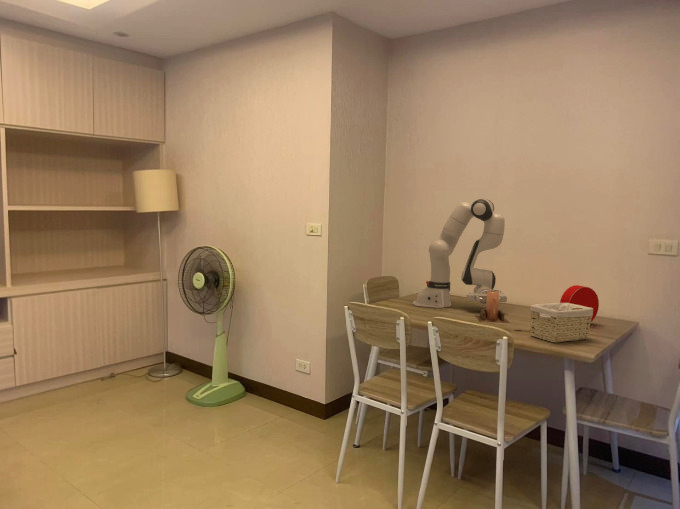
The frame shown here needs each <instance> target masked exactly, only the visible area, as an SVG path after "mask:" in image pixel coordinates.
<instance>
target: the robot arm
mask: <svg viewBox="0 0 680 509" xmlns="http://www.w3.org/2000/svg"><path fill="white" fill-rule="evenodd" d="M473 218H476V219H477V220H481V221H482V222H483V223H484V224H483V225H484V226H483V232H482V235H481V237H480V238H479V239H477V240H476V241H475V242H474V243H473V246H472V248H471V251H470V253H469V256H468V258H467V261H466V263H465V266H464V268H463V271H461V276H460V277H461V281H462V282H463V284H465V285H466V286H474V288H473V292H468V294H466V295H465V296H466V297H467V299H468V301H469V302H479V303H480V304H484V305H486V304H487V291H496V292H499V303H507V300H508V296H507V294H505V293H504V292H502V290H498V289H495V286H496V281H497V280H496V278H497V277H496V274H495V273H494V272H493V270H488V269H483V268H475V267H474V266H475V264H476V261H477V258H478V257H479V254H480V253H482V252H484V251H488V250H489V251H490V250H492V249H493V250H494V249H496V248H498V247H499V246H500V245H501V244H502V242H503V238H504V233H505V217H504V216H503V215H502V214H500V213H496V212H495V206H494V203H493V201H491V200H489V199H487V198H478V199H476V200H475V201H473V202H472V203H469V202H466V201H461V202H460V203H458V204H457V206H455V208H454V209H453V211H452V212H451V213H450V216H449V217H448V218H447V220H446V222H445V223H444V225H443V227H442V231H441V233H440V235H439V238H438V239H435V240H434V241H431V243H430V245H429V246H428V253H429V260H430V280H426V281H425V283H426V287H425V288H424V289H422V290H421V291H419V292H418V293H417V296H416V299H415V300H413V301H412V305H414V306H416V307H424V308H425V307H426V308H437V309H439V308H440V309H443V308H449V307H451V306H452V303H451V295H450V291H451V281H450V280H451V267H450V258H449V256H451V255H452V254H453V252H454V250H455V248H456V246H457V244H458V242H459V240H460V238H461V236H462V234H463V233H464V231H465V229H466V228H467V226H468V224H469V222H470V221H471V220H472V219H473Z"/></svg>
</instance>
